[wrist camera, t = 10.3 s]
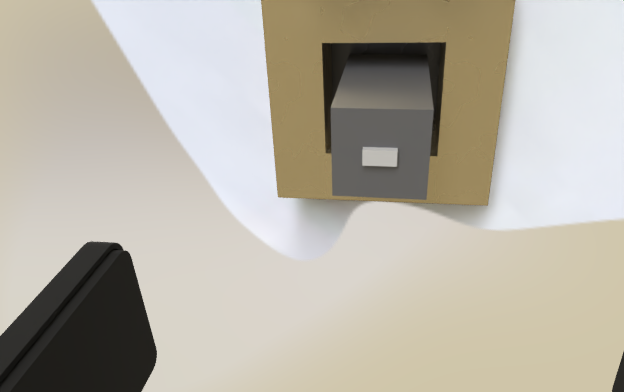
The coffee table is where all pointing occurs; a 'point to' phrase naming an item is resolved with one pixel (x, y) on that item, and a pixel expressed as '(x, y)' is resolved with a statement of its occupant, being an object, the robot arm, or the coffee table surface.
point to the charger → (382, 127)
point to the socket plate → (388, 41)
